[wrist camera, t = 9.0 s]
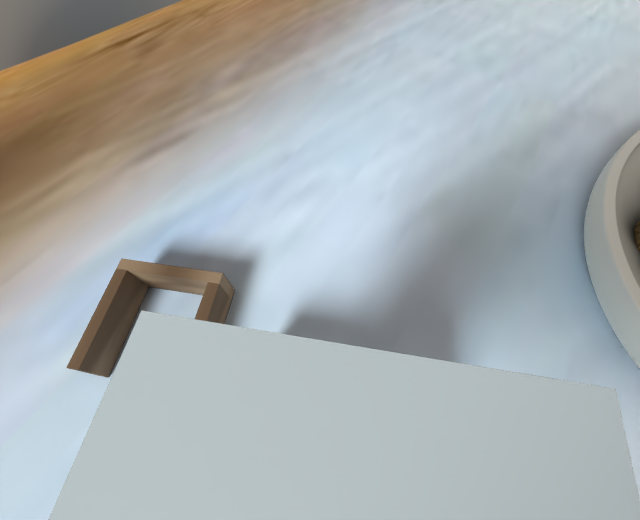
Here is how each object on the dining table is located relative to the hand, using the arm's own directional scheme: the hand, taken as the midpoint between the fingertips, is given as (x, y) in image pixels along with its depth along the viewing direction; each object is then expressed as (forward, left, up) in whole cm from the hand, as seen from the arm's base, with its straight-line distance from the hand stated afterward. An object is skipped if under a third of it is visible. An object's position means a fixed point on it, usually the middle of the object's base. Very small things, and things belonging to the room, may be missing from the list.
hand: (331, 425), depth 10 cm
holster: (-13, +4, -12) cm, 18 cm away
